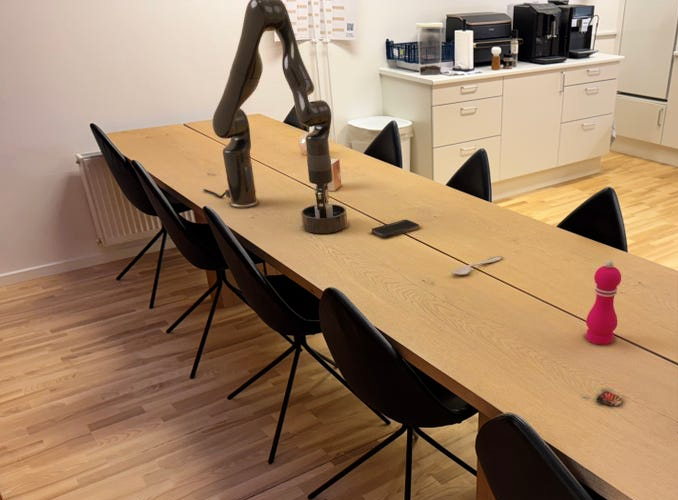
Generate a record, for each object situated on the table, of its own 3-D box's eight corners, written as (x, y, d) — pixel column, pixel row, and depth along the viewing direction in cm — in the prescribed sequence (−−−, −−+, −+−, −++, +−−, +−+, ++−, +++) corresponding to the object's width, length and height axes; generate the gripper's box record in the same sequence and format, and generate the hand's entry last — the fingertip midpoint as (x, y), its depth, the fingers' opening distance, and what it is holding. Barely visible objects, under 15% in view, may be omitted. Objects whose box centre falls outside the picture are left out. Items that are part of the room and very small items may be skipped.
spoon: (447, 275, 194) (447, 270, 193) (495, 256, 207) (495, 250, 206) (458, 279, 192) (458, 274, 191) (505, 259, 204) (505, 254, 203)
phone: (370, 229, 223) (405, 219, 231) (370, 232, 223) (406, 222, 232) (384, 235, 218) (420, 225, 226) (384, 239, 218) (420, 228, 227)
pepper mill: (580, 331, 165) (589, 254, 155) (609, 330, 166) (620, 254, 156) (588, 346, 159) (598, 267, 149) (618, 345, 160) (630, 266, 150)
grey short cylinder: (312, 219, 227) (311, 206, 225) (327, 215, 231) (325, 202, 228) (322, 223, 224) (321, 210, 221) (336, 219, 227) (335, 206, 225)
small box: (334, 191, 262) (332, 164, 257) (321, 190, 263) (318, 163, 258) (341, 185, 269) (339, 158, 264) (328, 184, 270) (326, 157, 264)
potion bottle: (308, 154, 315) (321, 165, 305) (291, 144, 308) (304, 155, 298) (318, 137, 313) (332, 147, 303) (301, 126, 306) (315, 137, 296)
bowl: (294, 226, 229) (292, 210, 226) (330, 216, 237) (329, 201, 234) (319, 238, 219) (317, 221, 217) (356, 227, 228) (355, 211, 225)
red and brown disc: (595, 402, 139) (595, 400, 139) (602, 389, 143) (602, 387, 143) (617, 408, 138) (618, 406, 137) (624, 395, 142) (624, 393, 141)
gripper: (310, 161, 224) (315, 210, 233) (305, 173, 212) (310, 225, 220) (333, 161, 224) (337, 210, 233) (329, 173, 212) (334, 224, 221)
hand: (324, 217), depth 227 cm, fingers closed on grey short cylinder, 6 cm apart
